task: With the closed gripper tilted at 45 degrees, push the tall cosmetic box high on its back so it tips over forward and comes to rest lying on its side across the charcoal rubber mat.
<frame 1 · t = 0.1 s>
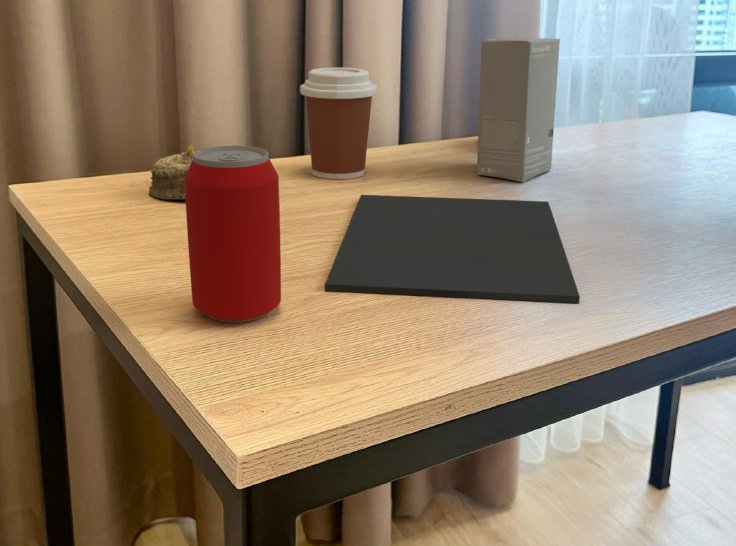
cake: (193, 192, 101), on the table
cosmetic box: (512, 174, 110), on the table
white round stack: (513, 147, 124), on the table
beverage can: (237, 312, 68), on the table
coffee cup: (338, 174, 109), on the table
mat: (451, 243, 84), on the table
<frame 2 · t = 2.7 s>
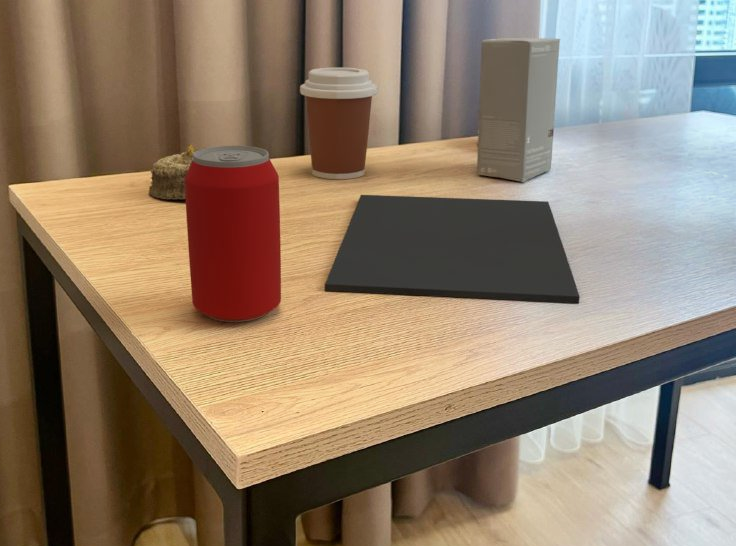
nothing on the table moved.
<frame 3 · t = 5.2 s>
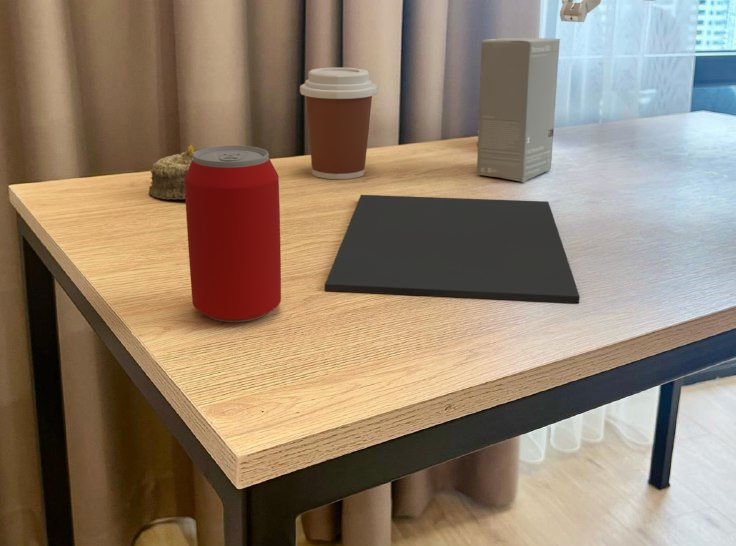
hand: (571, 18, 115), 17 cm above the table, tool tilted 45°, fingers closed
nothing on the table moved.
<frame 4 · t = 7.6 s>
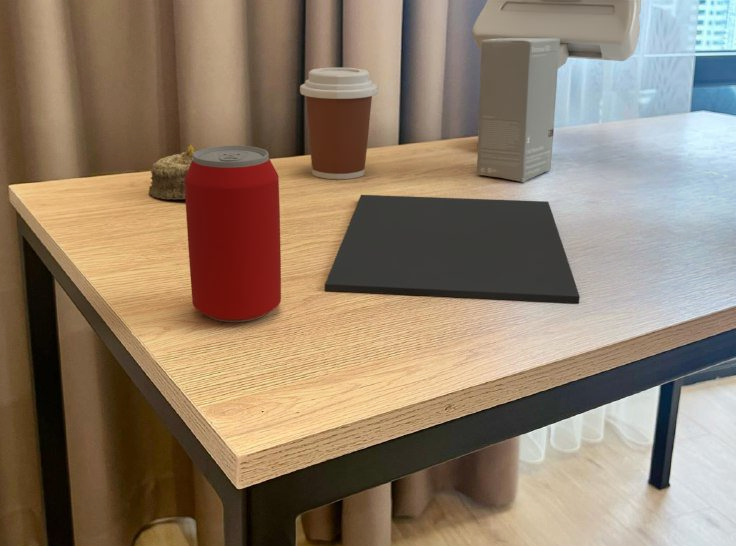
hand: (535, 78, 109), 11 cm above the table, tool tilted 45°, fingers closed
cosmetic box: (512, 174, 110), on the table, touching gripper
everything else where it was.
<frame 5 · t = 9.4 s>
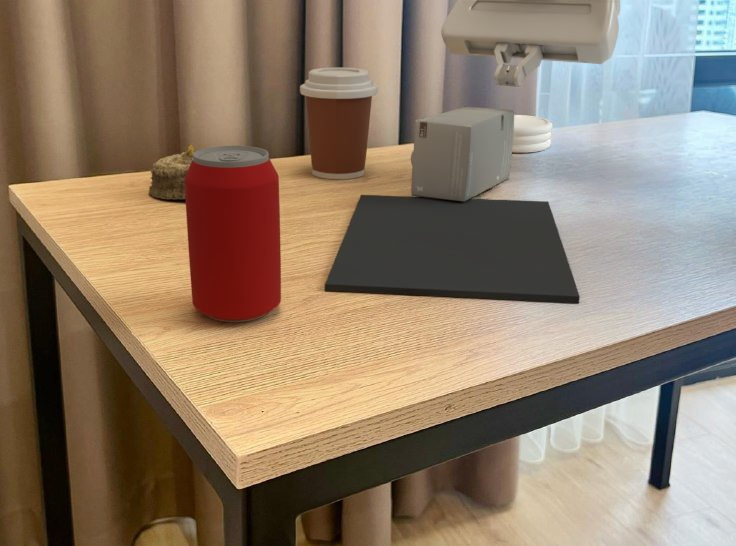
hand: (506, 83, 102), 11 cm above the table, tool tilted 45°, fingers closed
cosmetic box: (484, 139, 107), point 4 cm above the table, touching mat
everything else where it was.
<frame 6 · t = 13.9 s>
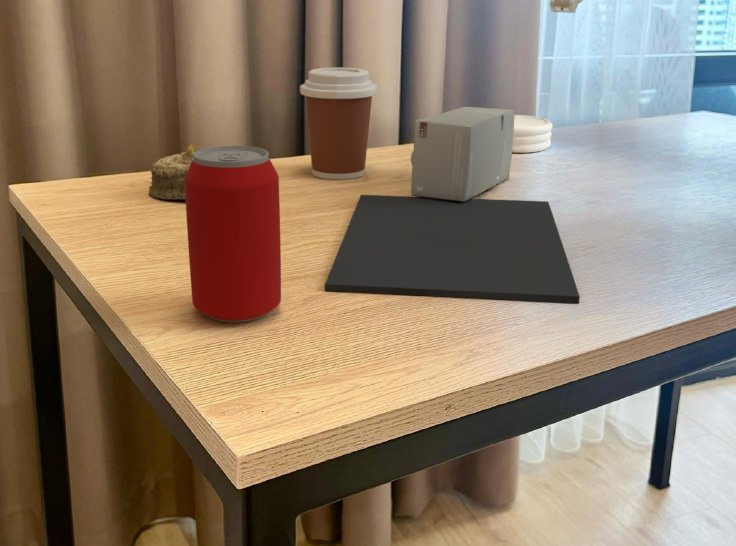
hand: (561, 9, 112), 18 cm above the table, tool tilted 45°, fingers closed
nothing on the table moved.
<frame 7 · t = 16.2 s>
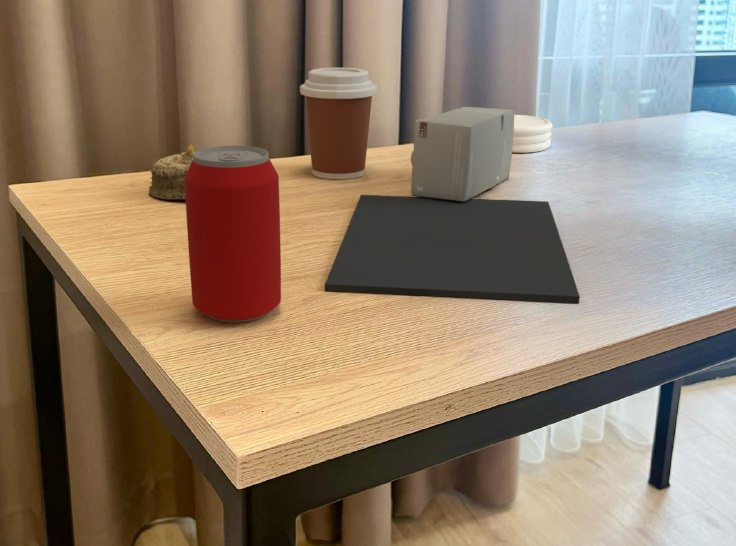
nothing on the table moved.
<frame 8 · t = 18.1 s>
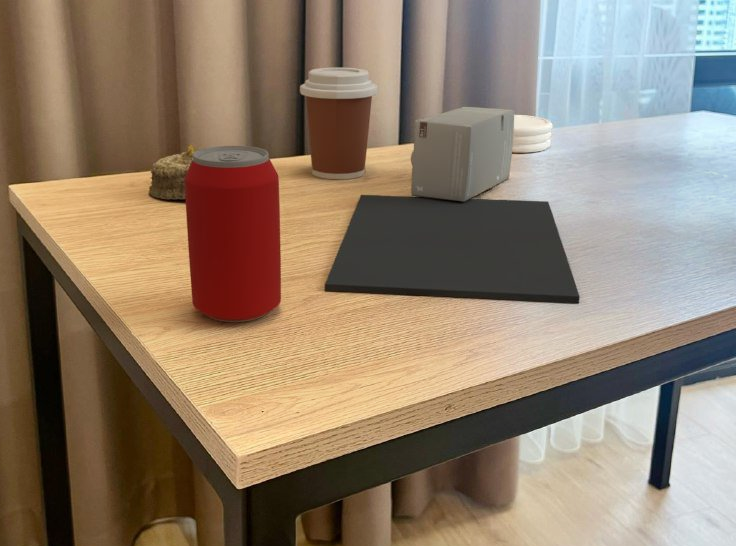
nothing on the table moved.
at the end: cosmetic box tilted 89°; cosmetic box touching mat, table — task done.
